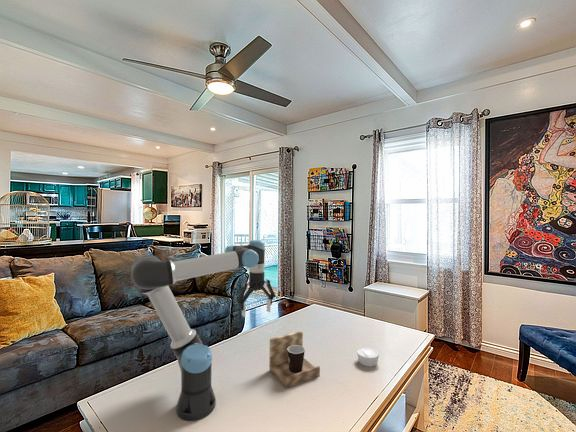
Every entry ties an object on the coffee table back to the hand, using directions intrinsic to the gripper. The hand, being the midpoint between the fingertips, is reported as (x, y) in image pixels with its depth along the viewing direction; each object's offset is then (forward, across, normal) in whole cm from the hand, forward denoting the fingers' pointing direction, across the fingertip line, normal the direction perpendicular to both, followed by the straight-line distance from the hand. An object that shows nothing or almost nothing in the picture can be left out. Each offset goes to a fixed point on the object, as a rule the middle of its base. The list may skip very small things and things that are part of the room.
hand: (256, 313), depth 142 cm
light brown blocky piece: (+29, +16, -12) cm, 35 cm away
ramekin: (+29, +55, -23) cm, 66 cm away
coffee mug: (+26, +17, -12) cm, 33 cm away
